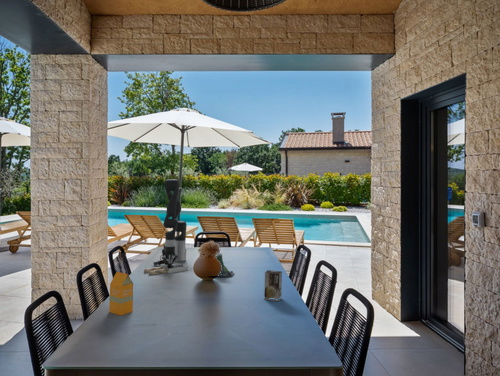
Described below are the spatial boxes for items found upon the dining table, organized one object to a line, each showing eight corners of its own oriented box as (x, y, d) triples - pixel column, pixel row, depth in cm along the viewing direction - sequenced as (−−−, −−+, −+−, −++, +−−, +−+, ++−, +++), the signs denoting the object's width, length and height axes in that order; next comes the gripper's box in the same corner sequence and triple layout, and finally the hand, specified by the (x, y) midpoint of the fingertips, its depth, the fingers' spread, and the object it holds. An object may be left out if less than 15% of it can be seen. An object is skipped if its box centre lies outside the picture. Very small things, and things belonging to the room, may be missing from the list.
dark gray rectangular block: (175, 269, 287) (175, 264, 287) (178, 270, 284) (178, 265, 284) (170, 269, 284) (170, 264, 284) (173, 271, 281) (173, 265, 281)
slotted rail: (161, 270, 282) (161, 266, 282) (167, 272, 275) (167, 269, 275) (144, 272, 273) (144, 269, 273) (149, 275, 266) (149, 271, 266)
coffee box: (281, 298, 223) (282, 271, 222) (278, 301, 216) (279, 273, 216) (266, 296, 225) (267, 269, 225) (263, 299, 219) (264, 272, 219)
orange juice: (120, 315, 187) (121, 275, 187) (108, 311, 192) (109, 272, 191) (132, 311, 194) (133, 272, 193) (121, 307, 198) (122, 270, 198)
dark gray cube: (180, 268, 289) (180, 263, 289) (182, 269, 286) (182, 264, 286) (175, 269, 287) (175, 264, 287) (178, 270, 284) (178, 265, 283)
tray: (178, 266, 294) (178, 263, 294) (187, 270, 284) (187, 266, 284) (160, 269, 284) (160, 265, 284) (168, 273, 274) (168, 269, 274)
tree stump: (240, 275, 275) (237, 252, 271) (219, 286, 262) (215, 262, 258) (225, 269, 288) (222, 247, 284) (204, 279, 275) (200, 256, 272)
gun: (150, 247, 296) (168, 243, 299) (155, 268, 297) (174, 263, 299) (149, 248, 294) (168, 243, 296) (154, 269, 295) (173, 264, 297)
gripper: (175, 243, 288) (174, 266, 289) (159, 245, 280) (159, 268, 280) (180, 245, 283) (179, 268, 283) (164, 247, 274) (163, 270, 274)
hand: (169, 268), depth 281 cm, fingers closed
